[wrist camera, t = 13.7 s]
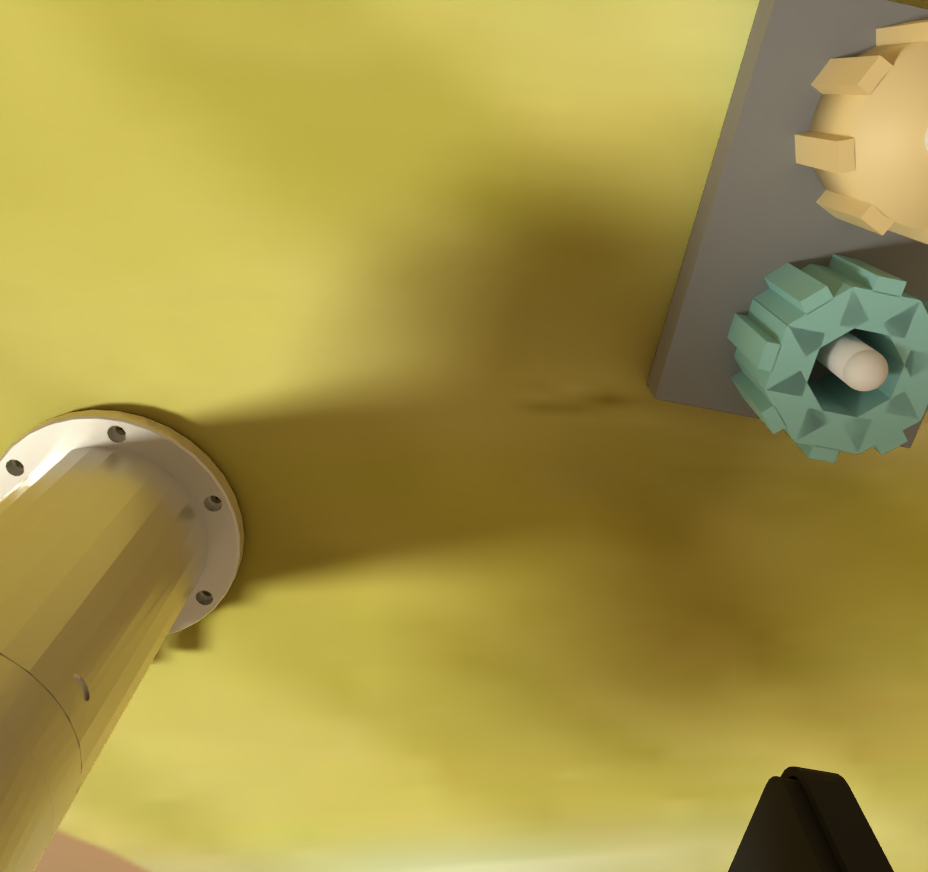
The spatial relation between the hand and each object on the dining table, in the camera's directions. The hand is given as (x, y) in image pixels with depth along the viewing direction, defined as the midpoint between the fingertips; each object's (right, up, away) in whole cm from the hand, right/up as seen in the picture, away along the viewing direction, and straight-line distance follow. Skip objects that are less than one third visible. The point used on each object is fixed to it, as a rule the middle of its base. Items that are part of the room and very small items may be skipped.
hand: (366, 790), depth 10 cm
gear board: (+17, +13, +27) cm, 35 cm away
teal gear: (+16, +8, +27) cm, 33 cm away
